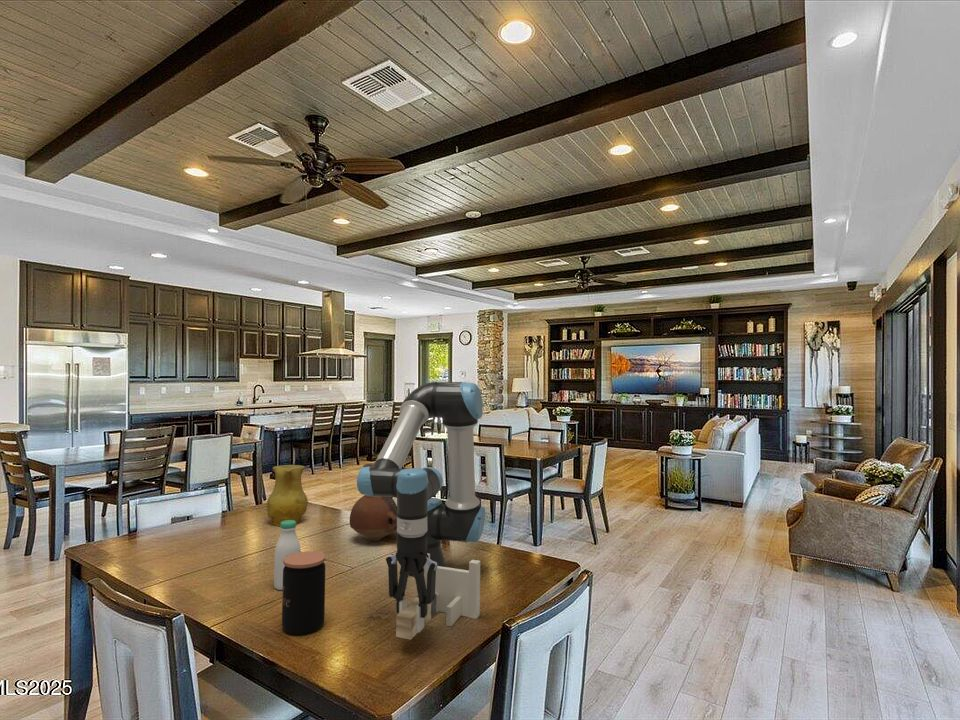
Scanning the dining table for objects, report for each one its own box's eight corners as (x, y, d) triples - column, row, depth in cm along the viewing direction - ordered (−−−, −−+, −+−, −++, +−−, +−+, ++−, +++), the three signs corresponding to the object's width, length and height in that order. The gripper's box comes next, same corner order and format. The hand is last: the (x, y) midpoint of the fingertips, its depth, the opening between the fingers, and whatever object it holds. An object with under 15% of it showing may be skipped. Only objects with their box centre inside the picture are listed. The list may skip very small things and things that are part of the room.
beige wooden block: (411, 639, 127) (411, 617, 127) (395, 636, 129) (395, 614, 129) (436, 613, 140) (436, 593, 141) (422, 611, 142) (422, 591, 142)
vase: (414, 539, 215) (415, 464, 216) (378, 553, 199) (379, 471, 199) (370, 528, 229) (372, 458, 230) (334, 540, 213) (335, 464, 213)
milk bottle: (275, 592, 162) (276, 526, 163) (272, 583, 169) (273, 520, 169) (301, 588, 166) (303, 523, 166) (297, 579, 172) (299, 517, 173)
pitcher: (256, 526, 230) (261, 467, 232) (279, 516, 248) (284, 462, 250) (293, 529, 227) (298, 470, 229) (314, 520, 245) (318, 465, 247)
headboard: (407, 618, 146) (407, 562, 147) (421, 605, 155) (422, 552, 155) (467, 629, 140) (468, 571, 141) (479, 615, 149) (480, 560, 149)
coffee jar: (288, 617, 146) (289, 551, 146) (328, 616, 147) (329, 550, 147) (276, 637, 135) (278, 565, 136) (319, 635, 136) (321, 564, 136)
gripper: (373, 533, 131) (373, 628, 131) (437, 542, 125) (436, 642, 125) (389, 524, 138) (388, 615, 138) (450, 532, 132) (449, 627, 133)
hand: (411, 627), depth 132 cm, fingers closed on beige wooden block, 4 cm apart
